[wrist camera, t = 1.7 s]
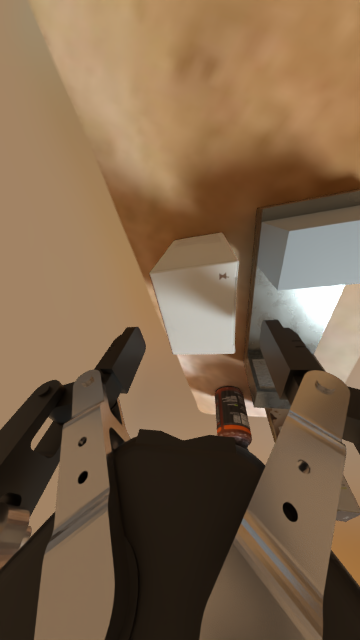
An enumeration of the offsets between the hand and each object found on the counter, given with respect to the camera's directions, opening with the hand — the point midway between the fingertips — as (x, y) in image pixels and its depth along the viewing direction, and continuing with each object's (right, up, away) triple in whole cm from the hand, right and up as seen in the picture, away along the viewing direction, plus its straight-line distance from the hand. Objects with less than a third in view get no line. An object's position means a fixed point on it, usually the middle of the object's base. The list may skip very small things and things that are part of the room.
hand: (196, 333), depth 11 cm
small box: (+2, +7, +10) cm, 12 cm away
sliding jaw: (+11, +9, +4) cm, 15 cm away
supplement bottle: (+10, -15, +25) cm, 31 cm away
